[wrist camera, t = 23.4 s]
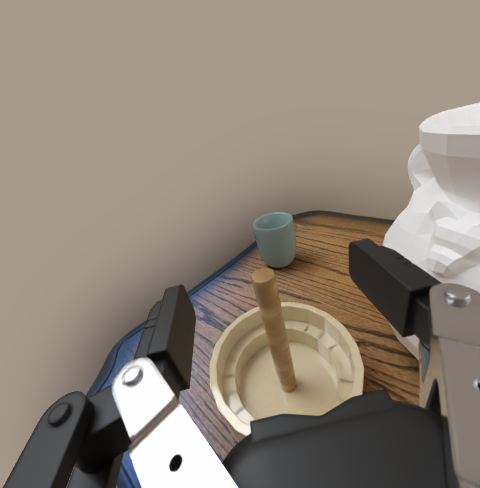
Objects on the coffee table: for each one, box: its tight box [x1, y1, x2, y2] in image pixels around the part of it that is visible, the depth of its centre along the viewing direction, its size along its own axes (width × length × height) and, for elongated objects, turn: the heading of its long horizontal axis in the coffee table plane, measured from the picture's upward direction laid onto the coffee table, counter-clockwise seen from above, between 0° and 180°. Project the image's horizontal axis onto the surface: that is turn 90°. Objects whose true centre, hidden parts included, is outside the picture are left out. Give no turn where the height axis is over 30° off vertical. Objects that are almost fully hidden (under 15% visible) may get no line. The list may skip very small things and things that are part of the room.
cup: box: [253, 212, 296, 268], centre depth 47 cm, size 8×8×10 cm
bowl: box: [210, 302, 364, 442], centre depth 26 cm, size 16×16×6 cm
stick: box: [251, 268, 297, 392], centre depth 23 cm, size 2×2×16 cm
